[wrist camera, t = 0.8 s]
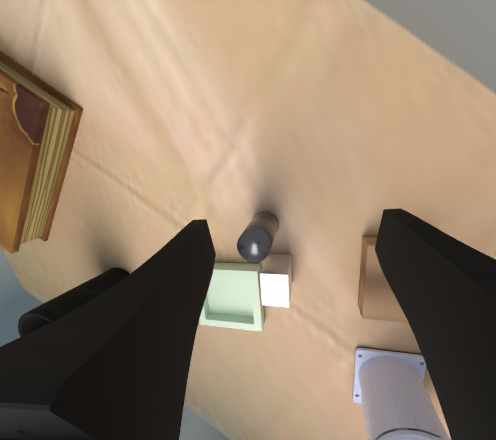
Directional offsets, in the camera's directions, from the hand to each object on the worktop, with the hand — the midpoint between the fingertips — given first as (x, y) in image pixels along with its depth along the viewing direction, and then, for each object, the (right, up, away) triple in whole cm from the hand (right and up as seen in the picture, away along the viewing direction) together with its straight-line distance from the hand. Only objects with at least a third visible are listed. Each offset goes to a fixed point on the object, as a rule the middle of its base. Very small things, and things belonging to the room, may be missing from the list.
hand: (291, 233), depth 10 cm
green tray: (-4, -9, +23) cm, 26 cm away
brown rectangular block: (+14, -5, +18) cm, 24 cm away
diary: (-36, +12, +25) cm, 46 cm away
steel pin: (0, 0, +19) cm, 19 cm away
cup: (-22, -9, +28) cm, 37 cm away
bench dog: (+2, -6, +20) cm, 21 cm away
